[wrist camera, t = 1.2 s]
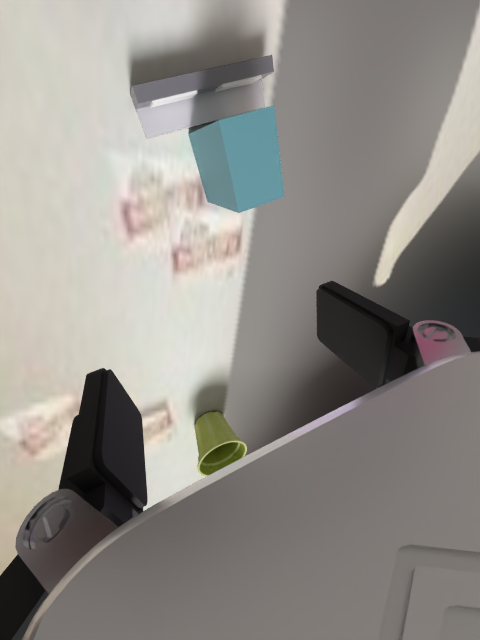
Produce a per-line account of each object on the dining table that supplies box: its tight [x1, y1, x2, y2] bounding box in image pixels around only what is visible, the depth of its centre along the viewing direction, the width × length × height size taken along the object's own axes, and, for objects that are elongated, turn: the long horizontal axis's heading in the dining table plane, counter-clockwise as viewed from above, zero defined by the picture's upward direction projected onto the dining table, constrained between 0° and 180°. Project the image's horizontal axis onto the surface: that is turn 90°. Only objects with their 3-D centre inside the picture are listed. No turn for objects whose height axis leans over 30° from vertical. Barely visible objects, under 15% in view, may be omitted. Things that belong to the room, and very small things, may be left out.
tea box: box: [189, 106, 284, 213], centre depth 26 cm, size 5×7×10 cm
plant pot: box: [195, 411, 247, 476], centre depth 49 cm, size 9×9×9 cm
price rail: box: [130, 55, 274, 139], centre depth 25 cm, size 4×14×3 cm, turn 104°
